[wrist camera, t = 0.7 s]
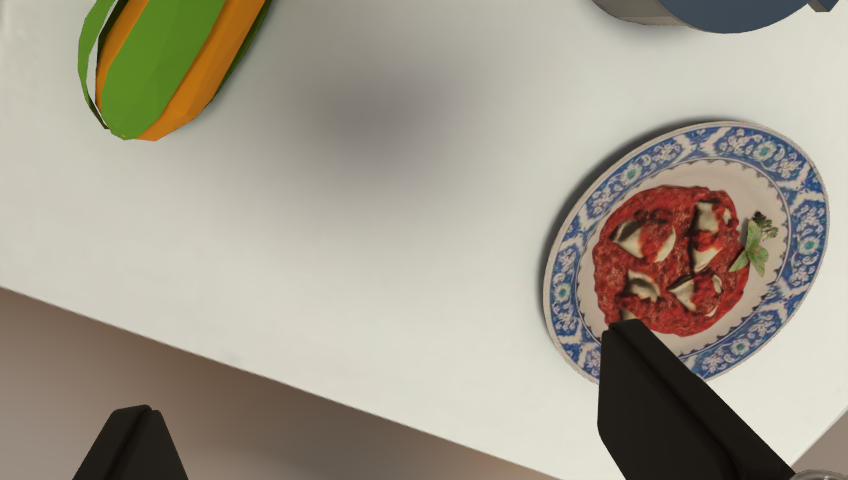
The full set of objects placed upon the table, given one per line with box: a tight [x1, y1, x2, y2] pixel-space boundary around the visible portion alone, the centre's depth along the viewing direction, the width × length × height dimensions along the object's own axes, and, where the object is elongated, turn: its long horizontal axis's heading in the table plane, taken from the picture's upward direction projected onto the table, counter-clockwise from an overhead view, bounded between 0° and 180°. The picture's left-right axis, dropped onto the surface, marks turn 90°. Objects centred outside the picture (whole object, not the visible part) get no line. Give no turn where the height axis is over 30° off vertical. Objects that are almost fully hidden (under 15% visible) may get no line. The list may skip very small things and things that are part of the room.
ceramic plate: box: [543, 121, 830, 385], centre depth 44 cm, size 26×26×3 cm
